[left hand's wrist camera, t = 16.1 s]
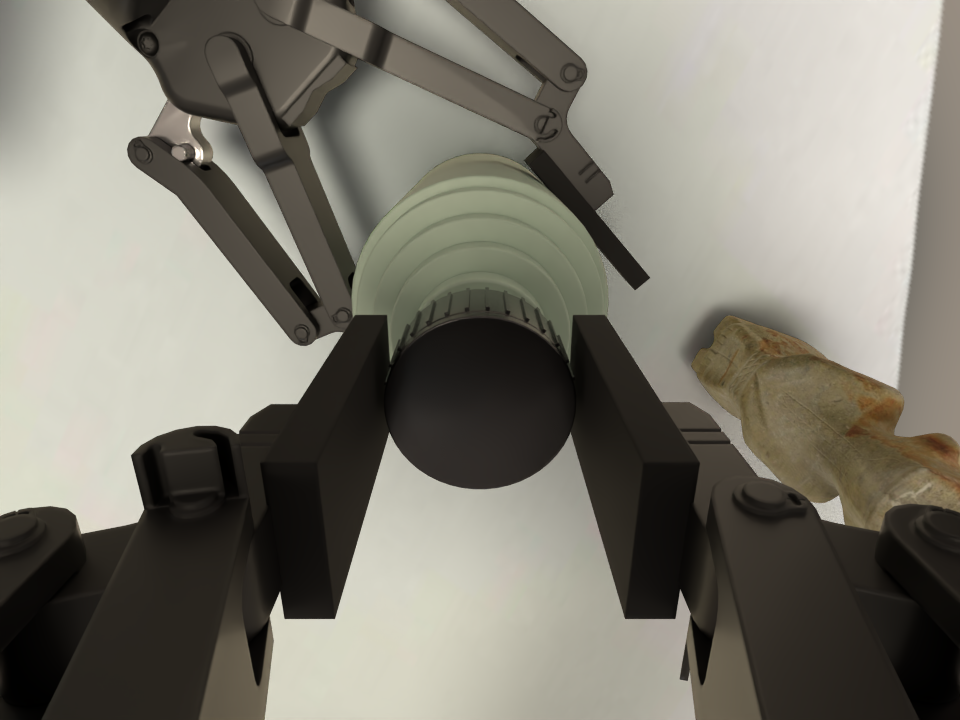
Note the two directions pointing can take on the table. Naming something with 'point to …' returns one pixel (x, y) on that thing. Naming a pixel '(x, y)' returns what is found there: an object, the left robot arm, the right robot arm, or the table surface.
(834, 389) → the sculpture
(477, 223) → the bottle
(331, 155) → the table surface
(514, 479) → the cap
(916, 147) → the table surface
